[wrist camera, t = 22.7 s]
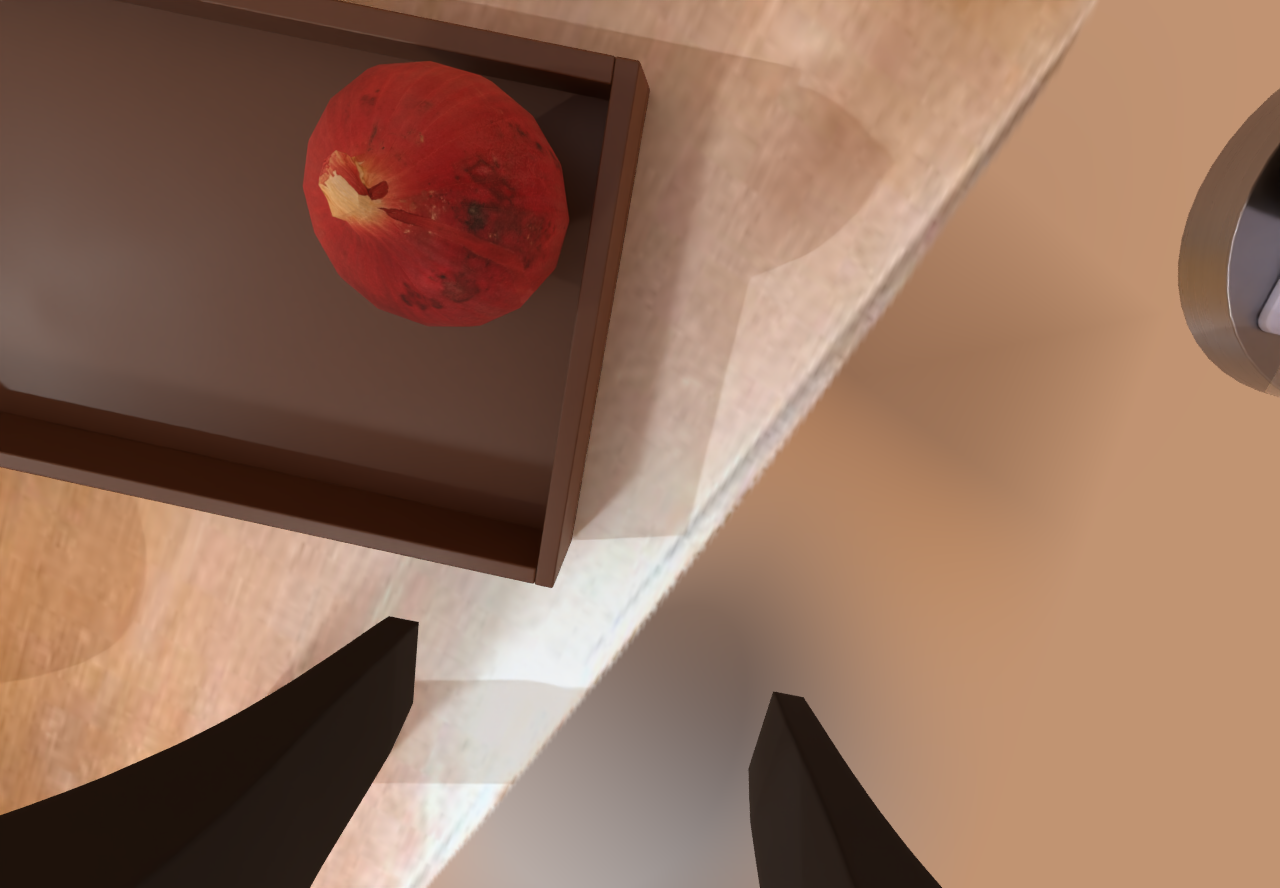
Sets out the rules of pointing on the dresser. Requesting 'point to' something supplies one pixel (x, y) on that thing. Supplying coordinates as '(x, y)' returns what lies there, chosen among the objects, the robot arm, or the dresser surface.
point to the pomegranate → (435, 194)
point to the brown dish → (286, 282)
